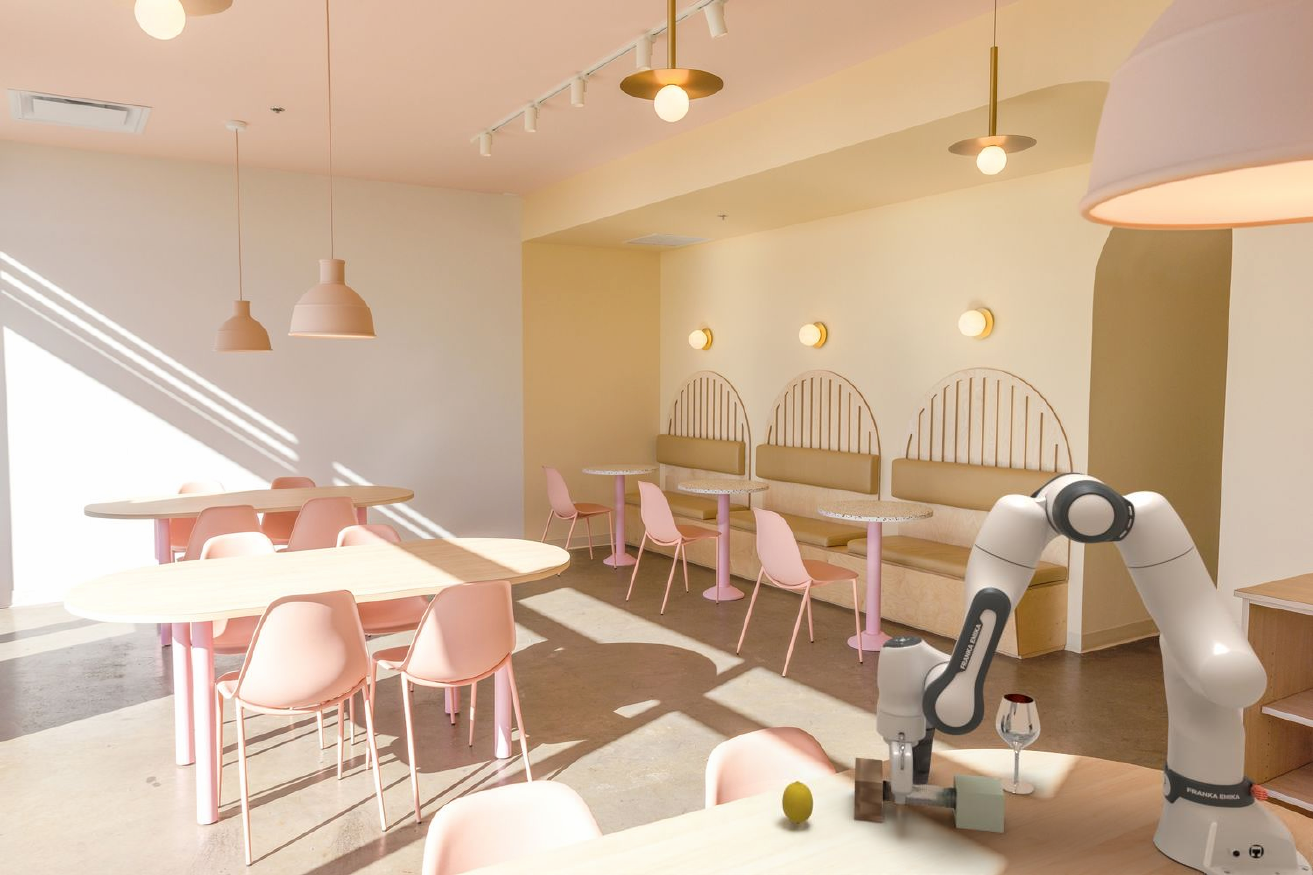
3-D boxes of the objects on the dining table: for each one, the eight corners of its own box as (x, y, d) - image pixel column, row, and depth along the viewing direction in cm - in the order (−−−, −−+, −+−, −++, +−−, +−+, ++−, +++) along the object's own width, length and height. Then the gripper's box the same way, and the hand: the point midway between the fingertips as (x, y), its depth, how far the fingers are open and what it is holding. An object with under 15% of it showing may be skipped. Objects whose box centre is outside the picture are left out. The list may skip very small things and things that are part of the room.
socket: (881, 797, 170) (882, 760, 169) (882, 823, 160) (882, 783, 160) (855, 794, 171) (855, 757, 171) (854, 819, 161) (854, 780, 161)
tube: (954, 803, 164) (955, 784, 163) (956, 812, 160) (957, 793, 160) (866, 793, 167) (866, 775, 167) (866, 802, 164) (866, 783, 164)
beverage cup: (937, 788, 174) (939, 689, 172) (899, 785, 175) (901, 687, 174) (933, 772, 181) (935, 677, 180) (896, 769, 182) (898, 674, 181)
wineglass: (1045, 796, 170) (1048, 706, 169) (1003, 796, 170) (1005, 705, 169) (1028, 777, 178) (1030, 691, 177) (987, 777, 179) (990, 690, 177)
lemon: (818, 823, 160) (819, 780, 159) (801, 835, 156) (802, 791, 155) (793, 813, 164) (793, 771, 163) (775, 824, 160) (776, 781, 159)
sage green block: (998, 814, 164) (999, 778, 163) (1003, 832, 157) (1004, 795, 156) (952, 809, 165) (953, 773, 165) (956, 827, 159) (957, 790, 158)
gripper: (921, 747, 152) (919, 825, 153) (915, 705, 172) (914, 774, 173) (884, 744, 154) (882, 820, 155) (882, 702, 174) (881, 770, 175)
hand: (899, 795), depth 164 cm, fingers closed on tube, 4 cm apart
